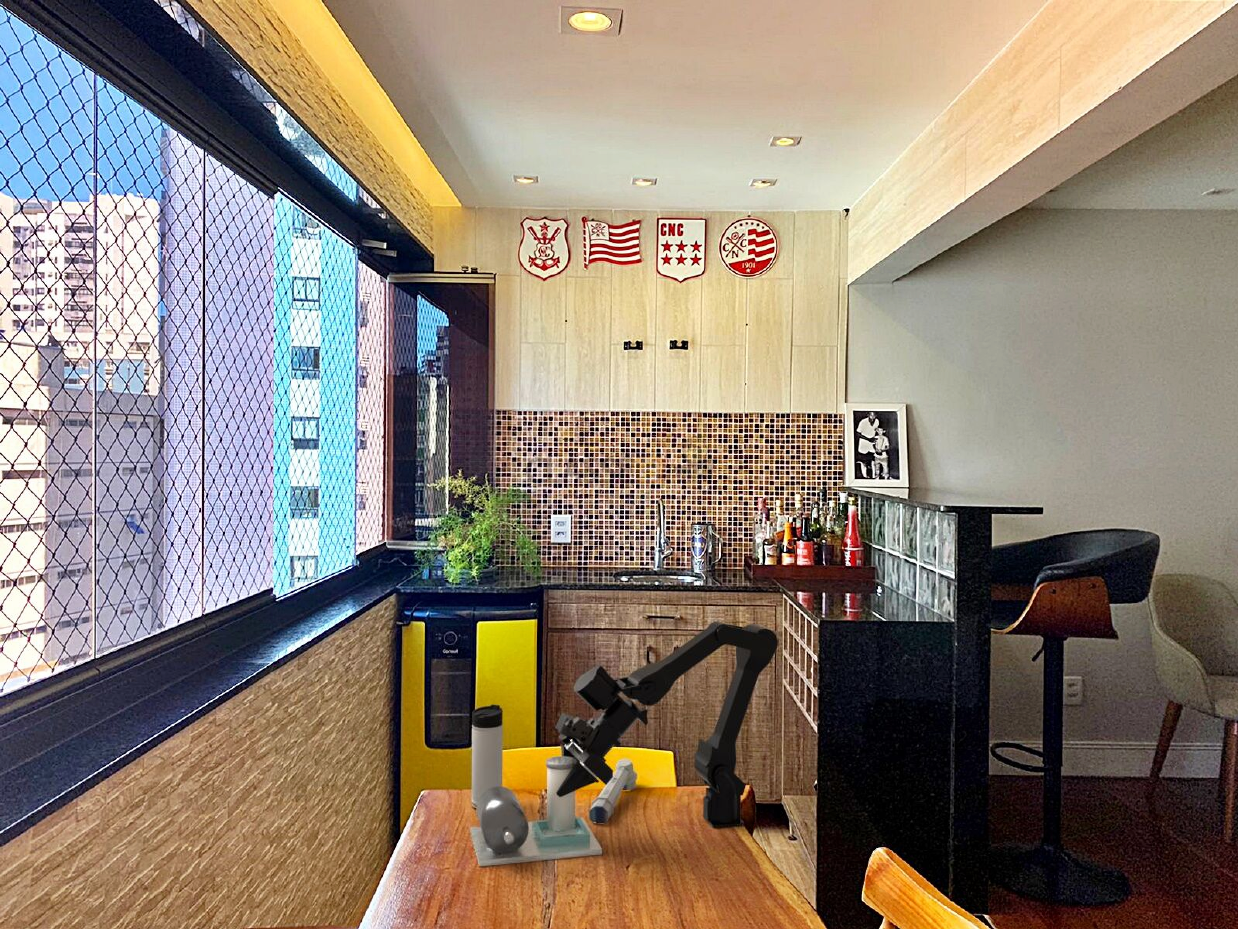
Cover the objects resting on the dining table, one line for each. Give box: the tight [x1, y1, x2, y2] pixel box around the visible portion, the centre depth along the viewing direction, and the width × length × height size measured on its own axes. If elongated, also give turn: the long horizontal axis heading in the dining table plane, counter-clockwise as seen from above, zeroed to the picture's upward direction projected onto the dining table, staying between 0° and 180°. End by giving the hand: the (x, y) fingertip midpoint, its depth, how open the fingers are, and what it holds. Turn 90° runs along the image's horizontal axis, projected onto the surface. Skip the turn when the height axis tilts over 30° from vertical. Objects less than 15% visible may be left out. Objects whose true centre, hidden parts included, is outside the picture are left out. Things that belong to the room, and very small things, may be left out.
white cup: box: [545, 755, 576, 831], centre depth 177 cm, size 6×6×12 cm
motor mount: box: [469, 786, 603, 867], centre depth 175 cm, size 22×18×9 cm
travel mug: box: [471, 704, 504, 807], centre depth 196 cm, size 6×7×20 cm
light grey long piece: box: [588, 758, 638, 824], centre depth 198 cm, size 5×7×25 cm
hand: (554, 790), depth 177 cm, fingers closed on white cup, 5 cm apart
